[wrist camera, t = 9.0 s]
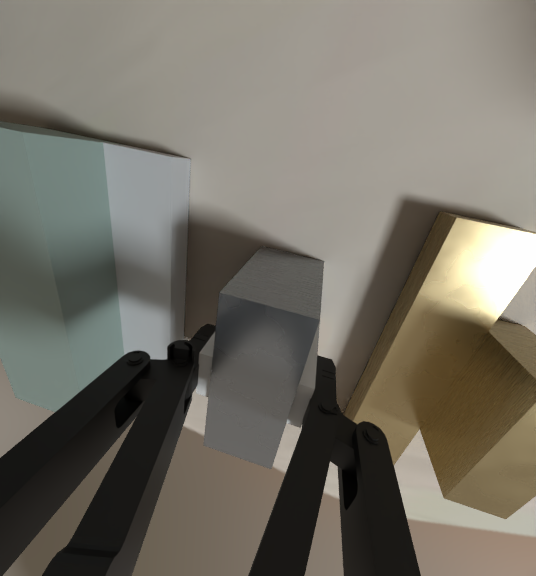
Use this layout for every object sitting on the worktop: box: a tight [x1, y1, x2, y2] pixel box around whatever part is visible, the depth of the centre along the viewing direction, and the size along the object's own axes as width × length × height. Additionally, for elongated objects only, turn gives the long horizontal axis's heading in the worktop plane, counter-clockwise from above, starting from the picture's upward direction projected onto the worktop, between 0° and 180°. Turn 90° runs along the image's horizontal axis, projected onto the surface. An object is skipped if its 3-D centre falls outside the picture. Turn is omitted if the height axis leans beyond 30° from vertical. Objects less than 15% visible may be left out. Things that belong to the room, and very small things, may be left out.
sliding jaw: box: [343, 211, 536, 519], centre depth 14 cm, size 7×18×6 cm, turn 170°
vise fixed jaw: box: [0, 121, 191, 412], centre depth 17 cm, size 10×18×6 cm, turn 170°
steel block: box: [204, 246, 324, 469], centre depth 15 cm, size 4×10×7 cm, turn 170°
